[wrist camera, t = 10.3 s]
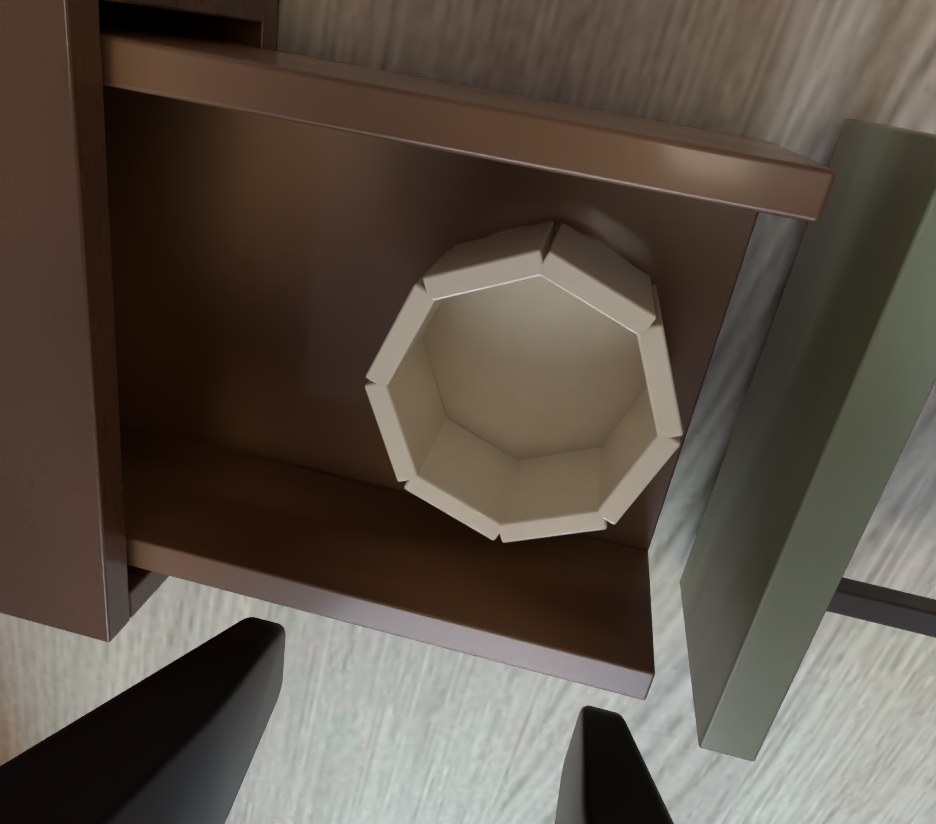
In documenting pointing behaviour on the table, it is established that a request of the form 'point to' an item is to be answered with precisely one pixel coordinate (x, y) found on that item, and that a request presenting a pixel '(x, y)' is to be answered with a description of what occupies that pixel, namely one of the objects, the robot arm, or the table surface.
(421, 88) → the drawer
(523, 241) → the faceted cream cylinder
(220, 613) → the table surface
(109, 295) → the cabinet
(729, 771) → the table surface
